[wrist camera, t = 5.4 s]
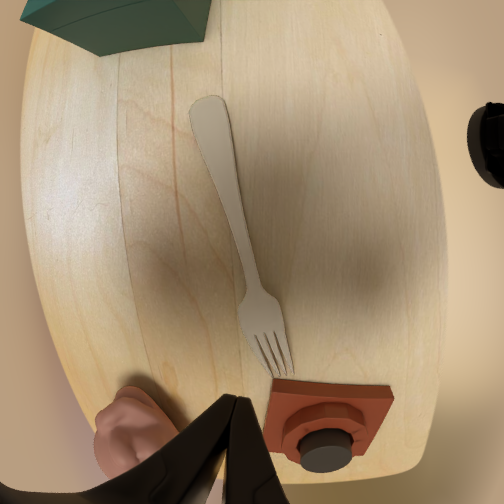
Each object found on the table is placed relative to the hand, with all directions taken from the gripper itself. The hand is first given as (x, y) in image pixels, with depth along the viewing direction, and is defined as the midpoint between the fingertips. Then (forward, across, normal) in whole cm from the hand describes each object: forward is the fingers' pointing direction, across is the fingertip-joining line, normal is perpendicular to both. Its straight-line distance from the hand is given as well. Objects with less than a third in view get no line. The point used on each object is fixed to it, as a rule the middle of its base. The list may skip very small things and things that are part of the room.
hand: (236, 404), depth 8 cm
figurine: (+12, +9, +16) cm, 22 cm away
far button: (+9, -7, +12) cm, 16 cm away
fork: (+12, +2, -2) cm, 12 cm away
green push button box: (+12, +11, -20) cm, 25 cm away
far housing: (+12, -7, +12) cm, 18 cm away
